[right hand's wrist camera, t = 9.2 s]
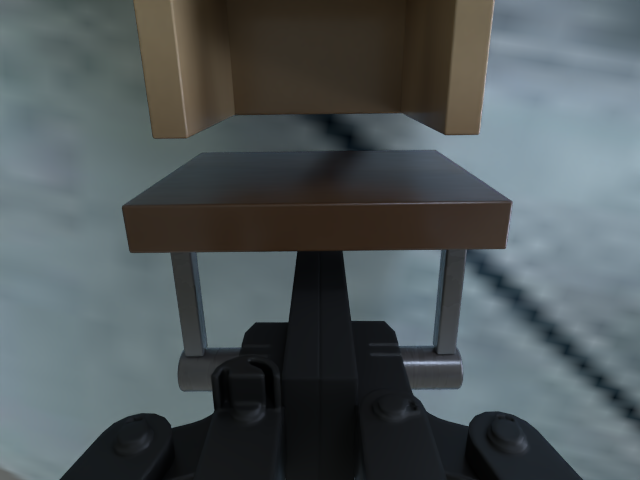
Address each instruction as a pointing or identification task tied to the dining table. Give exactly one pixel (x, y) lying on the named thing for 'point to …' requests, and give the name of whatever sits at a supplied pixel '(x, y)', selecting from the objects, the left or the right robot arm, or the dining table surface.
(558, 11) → the dining table surface
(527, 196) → the dining table surface
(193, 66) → the drawer
